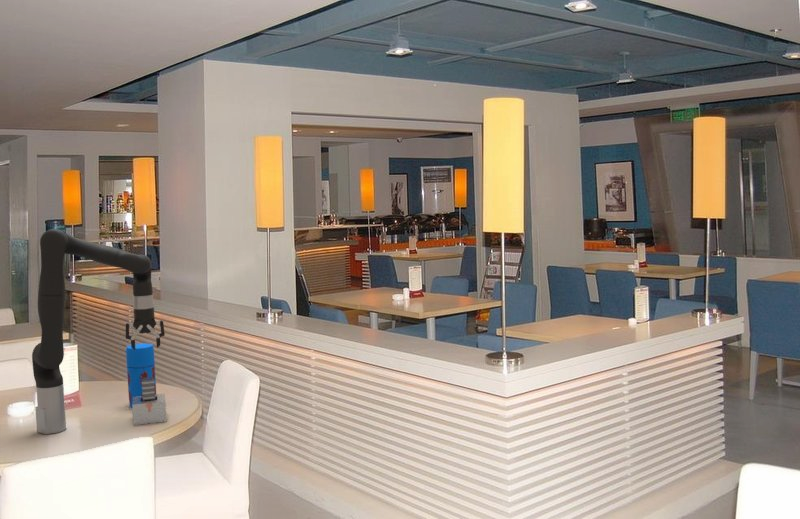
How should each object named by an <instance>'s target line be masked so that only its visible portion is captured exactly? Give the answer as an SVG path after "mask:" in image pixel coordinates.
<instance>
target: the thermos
mask: <svg viewBox="0 0 800 519" xmlns="http://www.w3.org/2000/svg"><path fill="white" fill-rule="evenodd" d="M125 356H126V358H125V359H126V372H127V373H126V374H127V390H128V404H129V408H130V409H132V410H133V408H132V402H133V397H135V396H143V394H142V390H143V389H142V385H143V384H142V378H149V377H153V379H154V389H155V393H154V394H157V383H156V381H157V380H156V367H155V366H156V364H155V363H156V362H155V348H154V344H152V343H135V350H133V348H132V347H131V344H130V345H127V346H125Z"/></svg>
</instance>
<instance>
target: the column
mask: <svg viewBox="0 0 800 519" xmlns="http://www.w3.org/2000/svg"><path fill="white" fill-rule="evenodd" d="M142 384H143V385H142V389H143V390H142V394H143V402H144V401H154V400H155V399H154V398H155V394H154V393H155V389H154V379H153V377H149V378H142Z"/></svg>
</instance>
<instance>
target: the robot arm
mask: <svg viewBox="0 0 800 519" xmlns="http://www.w3.org/2000/svg"><path fill="white" fill-rule="evenodd" d="M39 246H40V260H41V262H40V264H41V265H40V266H41V267H40V275H39V281H38V291H37V313H38V317H39V322H40V328H41V329H40V330H41V340H40V342H39V343H37V344H36V345H35V346H34V348H33V350H32V354H31V360H32V361H31V362H32V371H33V377H34V381H35V387H36V388H35V389H36V402H37V406H35V407H34V408H35V420H36V421H35V423H36V432H37V433H39V434H43V435H51V434H57V433H61V432H63V431H64V432H65V431H66V430H67V419H66V406H65V405H66V404H65V389H64V377H63V375H62V372H61V369H60V365H62V362H63V361H64V357H65V356H64V355H65V351H64V350H65V349H64V337H63V336H64V333H63V332H64V319H65V307H66V282H65V276H64V260H65V255H73V256H77V257H81V258H84V259H88V260H91V261H93V262H96V263H99V264H102V265H105V266H106V265H107V266H110V267H114V268H119V269H122V270H126V271H129V272H131V273H132V278H133V280H132V281H133V283H132V291H133V292H132V296H133V299H132V307H133V308H132V309H133V322H126V323H125V339H126V340H130V345H131V347H132V348H133V350H135V344H136V337H137V336H138V334H145V333H146V334H150V333H152V334H153V336H155V340H156V348H157V349H159V347H160V346H161V337H164V336H165V333H166V332H165V326H164V320H163V319H160V320H159V321H158V320H157V321H156V317H155V302H154V295H153V294H154V293H153V284H152V283H153V282H152V261H151V259H150V257H149V256H148V255H146V254H136V253H131V252H128V251H126V250H125V249H121V248H118V247H114V246H111V245H106V244H101V243H96V242H92V241H88V240H83V239H81V238H78V237H76V236H74V235H71V234H68V233H66V232H65V231H63V230H61V229H57V228H54V229H53V228H51V229H48V230H45V231H44V232H43V233H42V235H41V237H40V240H39ZM156 325H157V326H158V327H159V328H160V333H158V331H157V330H156V329H155V326H156ZM132 327H133V328H134V329H135V330H134V332H133V334H132V335H130V330H131V329H132Z"/></svg>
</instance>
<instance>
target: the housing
mask: <svg viewBox="0 0 800 519" xmlns="http://www.w3.org/2000/svg"><path fill="white" fill-rule="evenodd" d="M154 399H155V400H154V401H144V402H143V396H135V397H133V402H132V408H133V409H132V408H131V409H132V423H133V424H132V425H133V426H139V425H147V424H148V423H150V424H156V422H159V423H165V421H167V407H166V406H167V405H166V394H165V393H158V394H157V393H156V394H155V398H154Z"/></svg>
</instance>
